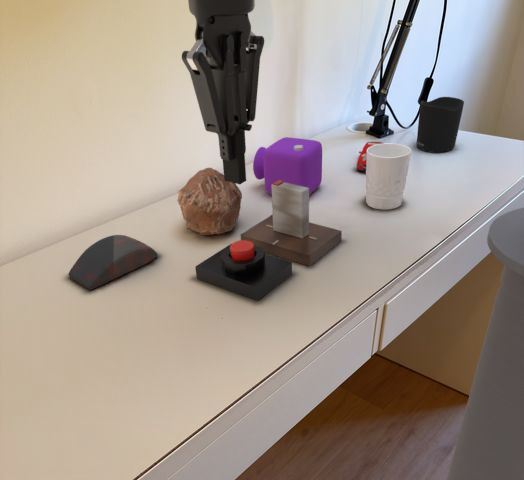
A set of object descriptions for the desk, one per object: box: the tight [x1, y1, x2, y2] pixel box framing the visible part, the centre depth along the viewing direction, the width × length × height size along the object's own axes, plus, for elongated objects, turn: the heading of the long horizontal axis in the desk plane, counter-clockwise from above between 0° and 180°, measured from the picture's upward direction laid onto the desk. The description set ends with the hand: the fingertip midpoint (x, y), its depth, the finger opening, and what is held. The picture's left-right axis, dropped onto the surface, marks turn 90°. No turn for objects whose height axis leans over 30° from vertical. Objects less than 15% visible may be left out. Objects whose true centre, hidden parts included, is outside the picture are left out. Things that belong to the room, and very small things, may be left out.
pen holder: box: [416, 96, 465, 154], centre depth 122 cm, size 9×9×10 cm
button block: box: [194, 243, 293, 302], centre depth 81 cm, size 12×9×4 cm
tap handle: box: [271, 180, 310, 239], centre depth 86 cm, size 6×2×8 cm, turn 53°
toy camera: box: [252, 136, 323, 196], centre depth 106 cm, size 11×14×10 cm
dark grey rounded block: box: [67, 234, 158, 291], centre depth 85 cm, size 8×14×4 cm, turn 136°
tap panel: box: [240, 213, 343, 267], centre depth 90 cm, size 14×10×2 cm
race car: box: [356, 141, 384, 172], centre depth 117 cm, size 13×5×4 cm, turn 162°
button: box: [230, 239, 255, 261], centre depth 80 cm, size 4×4×2 cm
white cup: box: [365, 142, 412, 211], centre depth 98 cm, size 8×8×10 cm
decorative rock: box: [177, 167, 243, 236], centre depth 94 cm, size 13×11×10 cm
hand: (235, 180), depth 73 cm, fingers closed
